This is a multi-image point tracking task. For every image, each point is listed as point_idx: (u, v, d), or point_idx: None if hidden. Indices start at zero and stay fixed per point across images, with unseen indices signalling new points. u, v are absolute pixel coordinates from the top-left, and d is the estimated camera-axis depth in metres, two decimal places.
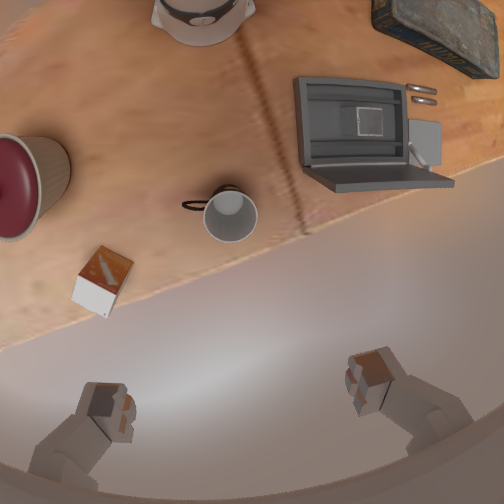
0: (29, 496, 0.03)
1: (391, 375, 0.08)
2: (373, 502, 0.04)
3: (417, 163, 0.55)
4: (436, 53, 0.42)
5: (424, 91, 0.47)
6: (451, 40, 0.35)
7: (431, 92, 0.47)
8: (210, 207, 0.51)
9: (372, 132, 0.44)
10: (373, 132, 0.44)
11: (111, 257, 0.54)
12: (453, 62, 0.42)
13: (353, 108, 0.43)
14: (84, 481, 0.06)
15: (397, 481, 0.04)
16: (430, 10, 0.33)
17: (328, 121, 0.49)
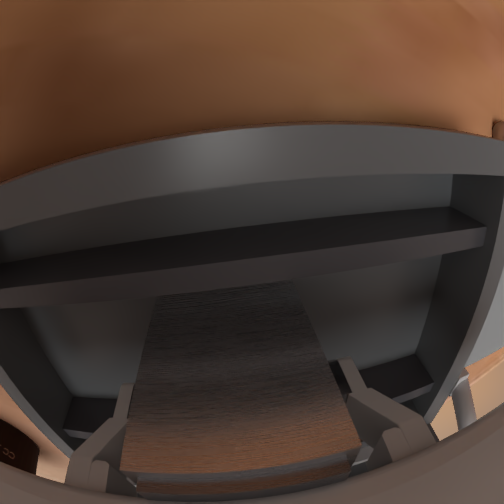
0: (29, 496, 0.03)
1: (349, 387, 0.08)
2: (373, 502, 0.04)
3: None
4: None
5: None
6: None
7: None
8: None
9: None
10: None
11: None
12: None
13: None
14: (125, 488, 0.06)
15: (397, 481, 0.04)
16: None
17: (119, 349, 0.12)
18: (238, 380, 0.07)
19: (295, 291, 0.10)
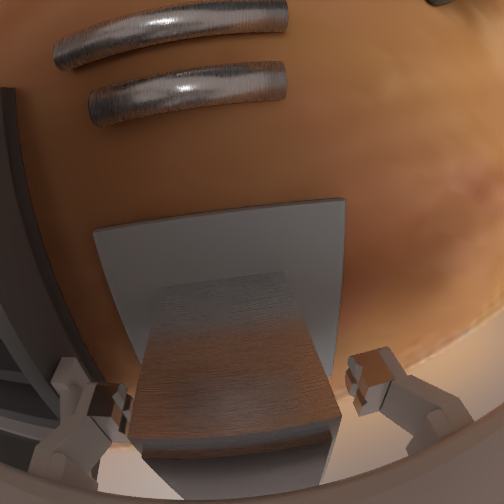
0: (29, 496, 0.03)
1: (391, 375, 0.08)
2: (373, 502, 0.04)
3: None
4: None
5: (173, 30, 0.07)
6: None
7: (237, 20, 0.07)
8: None
9: None
10: None
11: None
12: None
13: None
14: (83, 481, 0.06)
15: (397, 481, 0.04)
16: None
17: None
18: (233, 359, 0.08)
19: (287, 283, 0.11)
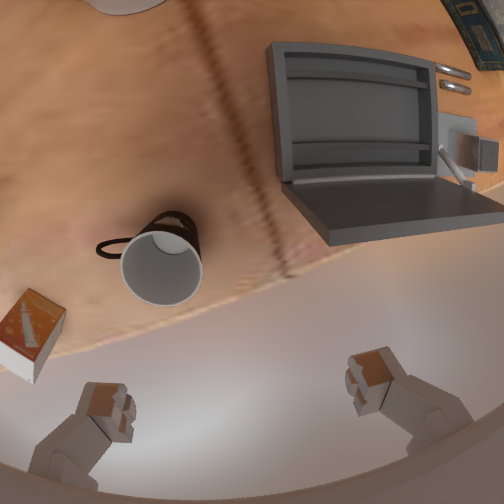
0: (29, 496, 0.03)
1: (391, 375, 0.08)
2: (373, 502, 0.04)
3: (446, 174, 0.37)
4: None
5: (456, 74, 0.30)
6: None
7: (464, 76, 0.30)
8: (142, 247, 0.34)
9: (490, 169, 0.30)
10: (490, 169, 0.30)
11: (37, 305, 0.37)
12: (460, 11, 0.23)
13: (473, 137, 0.29)
14: (83, 481, 0.06)
15: (397, 481, 0.04)
16: None
17: (321, 111, 0.32)
18: (478, 136, 0.30)
19: (471, 134, 0.34)
